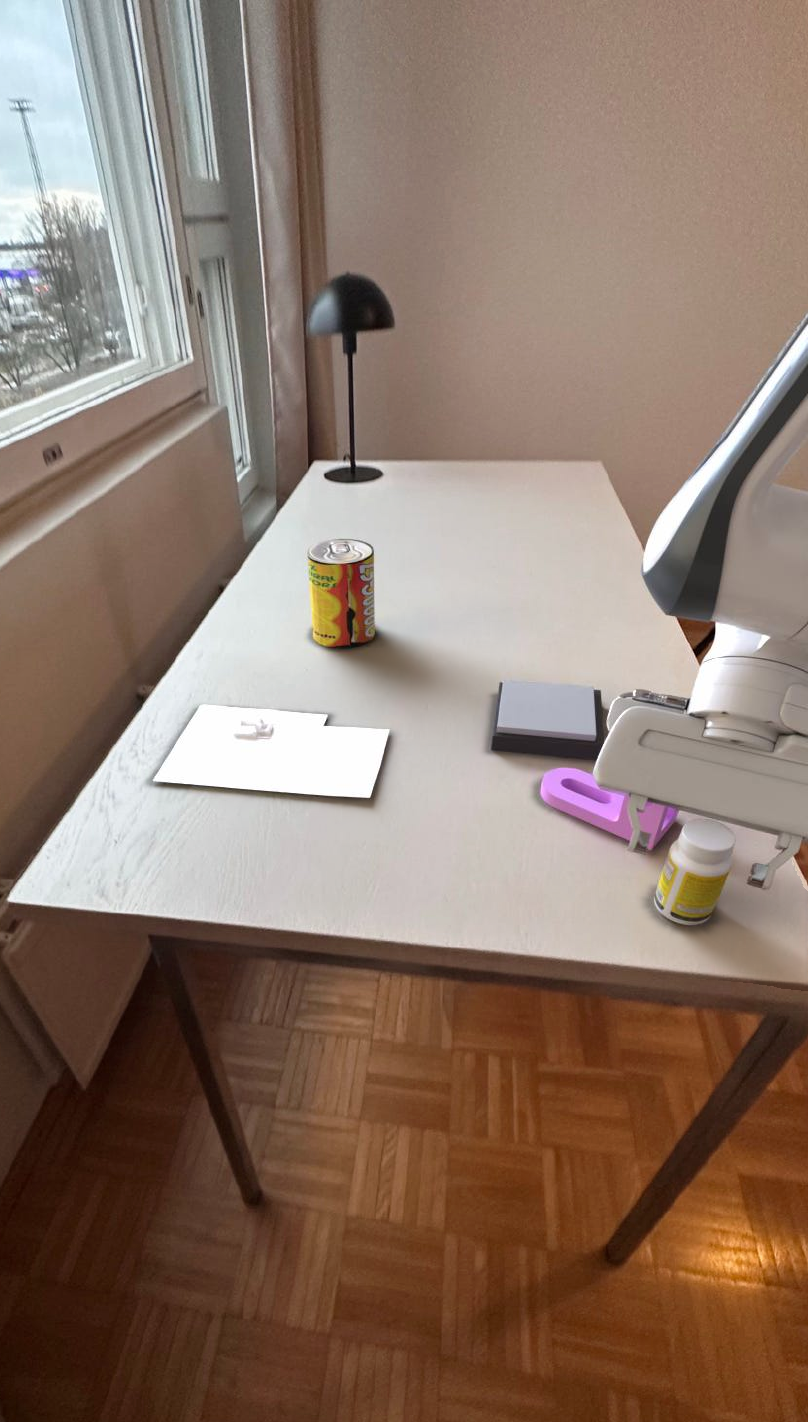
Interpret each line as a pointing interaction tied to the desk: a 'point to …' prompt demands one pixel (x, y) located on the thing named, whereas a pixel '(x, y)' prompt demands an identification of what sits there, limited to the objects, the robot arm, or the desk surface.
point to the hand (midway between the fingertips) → (695, 869)
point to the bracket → (602, 805)
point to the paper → (275, 753)
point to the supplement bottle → (695, 872)
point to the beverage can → (342, 592)
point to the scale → (548, 720)
